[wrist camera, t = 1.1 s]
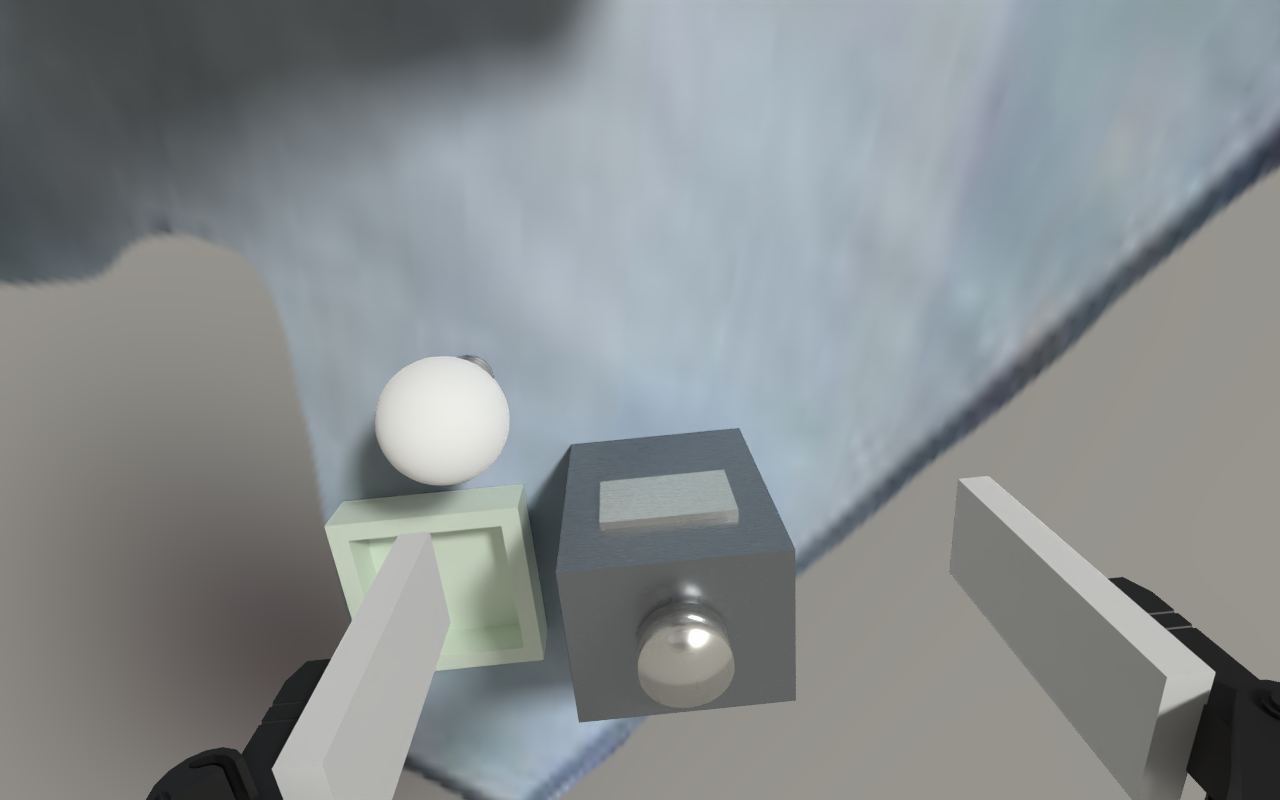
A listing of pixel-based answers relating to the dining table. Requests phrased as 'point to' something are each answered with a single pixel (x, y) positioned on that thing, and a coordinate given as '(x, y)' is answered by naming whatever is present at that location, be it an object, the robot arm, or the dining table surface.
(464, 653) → the tray
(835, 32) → the dining table surface
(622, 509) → the housing
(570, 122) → the dining table surface
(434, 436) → the light bulb
